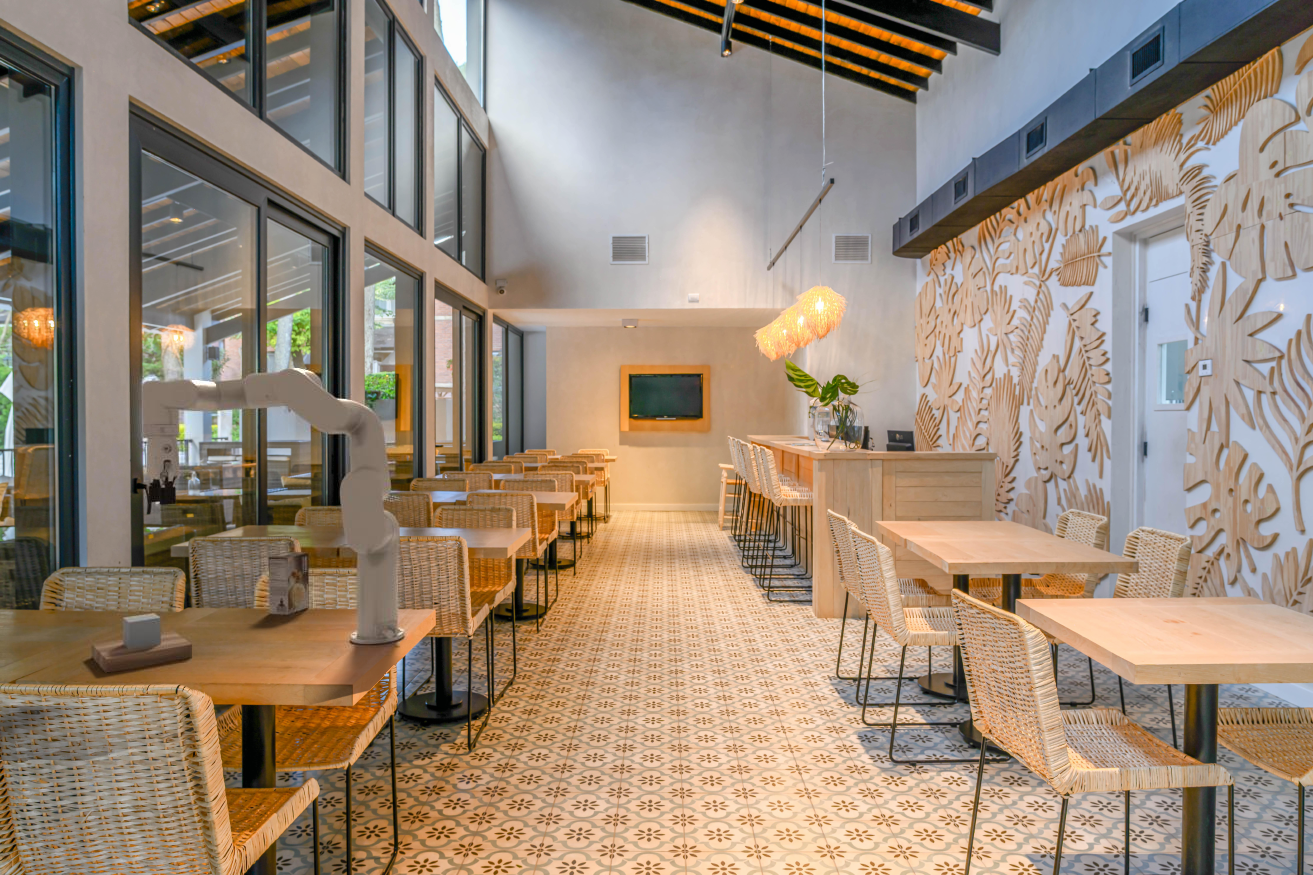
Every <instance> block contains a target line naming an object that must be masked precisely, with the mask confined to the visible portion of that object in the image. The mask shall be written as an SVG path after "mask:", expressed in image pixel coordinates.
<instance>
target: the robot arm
mask: <svg viewBox="0 0 1313 875" xmlns="http://www.w3.org/2000/svg"><path fill="white" fill-rule="evenodd" d="M280 407H287V408H288V409H290V410H291V411H292V412H293V413H295V415H297V416H299V417H300V418H301V419H303V421H305V422H307V423H308V424H309V425H310V426H312V427H313V428H315V429H316V430H318V431H319V432H321V433H324V434H328V435H341V434H344V435H347V437H348V439H349V450H348V451H349V459H350V466H351V467H350V468H351V470H350V471H348V473H347V474H346V475H345V476H344V477H343V479H342V481H341V484H340V487H339V498H340V507H341V515H342V516H341V517H342V525H343V532H344V538H345V541H346V543H347V545H348V547H349V548H351V550H353V552H355V553H357V556H356V630H355V631H354V632H352V633H350V635H349V640H350V642H352V643H355V644H358V645H377V644H378V645H379V644H387V643H391V642H395V641H397V640H400V639H403V637H405V629H403V628H400V627H399V623H398V622H399V618H398V617H399V609H398V608H399V602H398V597H399V596H398V589H399V588H398V587H399V586H398V585H399V584H398V581H399V579H398V576H399V575H398V574H399V571H398V570H399V568H398V567H399V561H398V560H399V546H400V537H401V535H400V534H401V531H400V524H399V521H398V518H397V517H396V516H395V515H394V514H393V513H392V512H390V511H388V510H386V509H385V508H384V507H385V506H384V501H385V500H387V498H388V497H389V495H390V493H391V490H392V484H391V476H390V469H389V461H388V454H387V448H386V447H387V446H386V438H385V433H384V432H385V431H384V427H383V424H382V421H381V419H380V418H379V416H378V415H377V414H376V412H375V411H374V410H373V409H371V408H370V407H369V406H366V405H365V404H363V403H360V402H358V401H355V400H351V399H345V398H337V397H335V396H334V395H333V394H331V393H329V391H328V390H326V389H324V386H323V382H322V380H321V378H320V377H319V376H318V374H316V373H315V372H313V371H310V370H307V369H301V368H298V367H297V368H295V367H288V368H285V369H282V370H280V371H274V372H273V371H272V372H256V373H255V372H254V373H250V374H247V375H246V376H245V377H243V378H238V379H230V380H221V381H220V380H217V381H216V380H213V381H212V380H211V381H208V380H207V381H206V380H200V379H185V378H184V379H178V380H171V381H170V380H146V381H145V382H143V383H142V386H141V415H142V416H141V418H142V421H141V422H142V424H141V425H142V426H141V429H142V436H141V437H142V439H146V442H147V443H146V475H147V477H148V479H149V480H148V502H149V503H159V505H161V506H167V505H175V504H176V503H177V500H176V499H177V498H176V495H177V493H176V489H177V488H176V486H177V485H176V480H177V479H179V478H180V476H181V470H180V468H181V467H180V456H179V455H180V454H179V445H178V438H179V439H180V411H185V412H186V411H188V412H221V411H233V410H235V411H236V410H243V409H245V410H246V409H248V410H249V409H251V410H253V409H255V410H256V409H267V408H280Z"/></svg>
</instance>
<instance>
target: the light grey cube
mask: <svg viewBox="0 0 1313 875" xmlns="http://www.w3.org/2000/svg"><path fill="white" fill-rule="evenodd" d="M161 622H162V618H161V616H159V615H157V613H155V612H154V613H152V612H151V613H145V614H139V615H132V616H127V617H123V618H122V625H123V626H122V634H123V635H122V639H123V644H124V645H125V646H126V647H127V648H128V649H135V648H141V647H147V646H153V645H159V644H161V633H162V629H161V628H162V623H161Z"/></svg>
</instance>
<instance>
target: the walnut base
mask: <svg viewBox="0 0 1313 875" xmlns="http://www.w3.org/2000/svg"><path fill="white" fill-rule="evenodd" d="M91 658H92V659H93V660H94V661H95V662H96V664H97V665H98V664H99V665H98V666H99V667H100V668H101V669H102V670H103V671H104V673H106V672H111V673H114V672H113V671H116V672H120V671H119V670H121V671H126V670H131V669H137V668H143V667H147V666H148V667H149V666H152V665H158V664H159V665H160V664H164V663H170V662H175V661H180V660H185V659H190V658H191V659H192V658H193V644H192V643H191V642H189V641H188V640H187V639H185V638H184V637H182V636H181V635H180V634H178V633H177V632H176V631H174V630H171V631H165V632H161V644H159V645H153V646H147V647H141V648H135V649H128V648H127V647H126V646H125V645H124V644H123V638H122V639H116V640H110V641H104V642H97V643H92V644H91Z"/></svg>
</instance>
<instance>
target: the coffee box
mask: <svg viewBox="0 0 1313 875" xmlns="http://www.w3.org/2000/svg"><path fill="white" fill-rule="evenodd" d="M309 569H310V568H309V552H308V551H307V552H304V551H301V552H300V551H289V552H285V553H281V554H275V555H272V556H268V599H269V602H268V605H269V606H268V608H269V609H268V610H269V612H268V613H269V614H270V615H283V614H289V615H292V614H294V612H295V613H297V612H299V611H302V610H306V609H308V608H310V584H309V583H310V581H309V580H310V575H309V574H310V572H309V571H310V570H309ZM296 611H297V612H296ZM291 613H292V614H291Z"/></svg>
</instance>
